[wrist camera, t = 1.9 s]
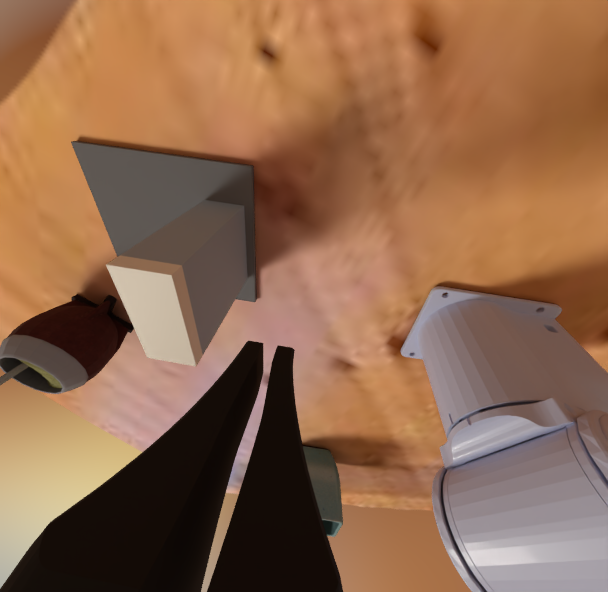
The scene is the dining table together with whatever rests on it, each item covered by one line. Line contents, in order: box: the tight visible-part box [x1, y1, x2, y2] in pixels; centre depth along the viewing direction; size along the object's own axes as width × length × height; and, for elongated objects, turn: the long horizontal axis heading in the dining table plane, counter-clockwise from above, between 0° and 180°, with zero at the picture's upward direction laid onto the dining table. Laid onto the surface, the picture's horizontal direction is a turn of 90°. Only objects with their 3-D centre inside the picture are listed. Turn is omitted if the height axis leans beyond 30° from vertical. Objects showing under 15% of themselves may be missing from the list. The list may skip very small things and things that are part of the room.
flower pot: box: [303, 446, 343, 537], centre depth 37 cm, size 9×9×9 cm
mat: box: [71, 141, 256, 302], centre depth 19 cm, size 12×11×1 cm
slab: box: [106, 200, 248, 366], centre depth 16 cm, size 3×6×9 cm, turn 175°
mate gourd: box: [0, 294, 134, 394], centre depth 21 cm, size 8×8×15 cm
